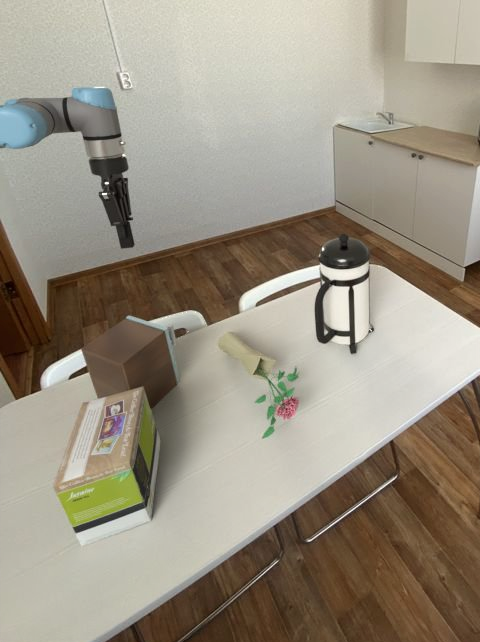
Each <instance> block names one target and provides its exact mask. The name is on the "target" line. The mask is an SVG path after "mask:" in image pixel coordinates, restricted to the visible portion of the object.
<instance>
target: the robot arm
mask: <svg viewBox="0 0 480 642" xmlns="http://www.w3.org/2000/svg"><path fill="white" fill-rule="evenodd" d="M117 109H118V108H117V106H116V103H115V99H114V95H113V92H112V90H111V89H110V88H109V87H106V86H86V87H84V86H82V87H74V88H72V89H71V95H70V96H67V97H66V96H65V97H30V98H29V97H21V98H12V99H8V100H5V101H4V103H3V104H2V105H1V104H0V149H13V150H20V149H25V148H29V147H33V146H35V145H37V144H39V143H40V142H41V141H43V140H44V139H46V138H48V137H49V136H51V135H54V134H64V133H65V134H67V133H79V132H80V133H81V135H82V141H83V144H84V148H85V149H84V150H85V153H86V156H87V157H88V158H89V159H88V164H89V168H90V172H91V174H92V175H93V176H99V177H100V179H101V181H100V186H101V189H102V191H98V197H99V199H100V200H101V202H102V205H103V207H104V210H105V213H106V215H107V218H108V221H109V224H110V226H111V227H115V230H116V233H117V238H118V243H119V246H120V250H121V249H122V250H123V249H131V248H134V246H135V240H134V235H133V230H132V228H131V227H132V226H131V221H134V217H132V214H133V213H132V205H131V200H130V191H129V178H128V177H127V176H125V177H124V173H125V172H127V171H128V170H129V163H128V159H127V158H128V157H127V155H125V152H126V149H125V145H126V141H125V140H123V134H122V130H121V125H120V124H121V123H120V120H119V119H120V118H119V115H118V110H117Z"/></svg>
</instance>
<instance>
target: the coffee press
mask: <svg viewBox="0 0 480 642" xmlns="http://www.w3.org/2000/svg"><path fill="white" fill-rule="evenodd" d="M317 259H318V262H319V284H320V287H319V289H318V291H317V293H316V296H315V299H314V324H315V336H316V340H317V342H319V343H320V344H322V345H327V344H328V343H329V342H330V341H331V342H333V343H334V344H338V345H342V346H348V347H349V352H350V354H351V355H354V354H355V355H356V354H357V346H356V344H357V343H360V342H361V341H362V340H364V339H365V338H366V337H367V335H368V333H374V331H375V327H374V326H373V324H372V323H371V305H370V304H371V303H370V302H371V298H370V297H371V296H370V295H371V294H370V292H371V291H370V275H371V274H370V273H371V267H370V259H371V250H370V249H369V247H368V246H367V245H366V244H365V242H363V241H361V240H360V239H357V238H355V237H350V236H348V234H346V233H341V234H339V237H335V238H333V239H330V240H328V241H327V242H325V243H324V244H323V245H322V246H321V248H320V250H319V251H318V253H317ZM370 327H371V328H370ZM369 329H371V330H372V332H370V330H369Z"/></svg>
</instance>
